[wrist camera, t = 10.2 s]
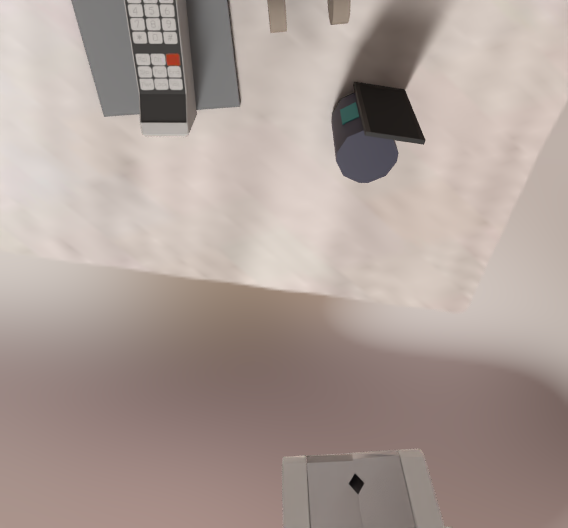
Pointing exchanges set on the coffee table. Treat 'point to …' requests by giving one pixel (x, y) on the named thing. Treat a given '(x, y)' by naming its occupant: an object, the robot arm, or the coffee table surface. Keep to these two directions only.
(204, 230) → the coffee table surface
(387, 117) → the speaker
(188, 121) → the vintage mobile phone
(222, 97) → the mat
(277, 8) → the figurine character
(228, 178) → the coffee table surface
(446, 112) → the coffee table surface
